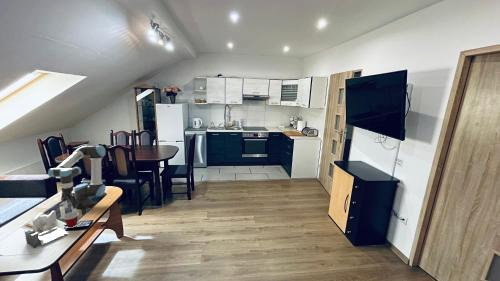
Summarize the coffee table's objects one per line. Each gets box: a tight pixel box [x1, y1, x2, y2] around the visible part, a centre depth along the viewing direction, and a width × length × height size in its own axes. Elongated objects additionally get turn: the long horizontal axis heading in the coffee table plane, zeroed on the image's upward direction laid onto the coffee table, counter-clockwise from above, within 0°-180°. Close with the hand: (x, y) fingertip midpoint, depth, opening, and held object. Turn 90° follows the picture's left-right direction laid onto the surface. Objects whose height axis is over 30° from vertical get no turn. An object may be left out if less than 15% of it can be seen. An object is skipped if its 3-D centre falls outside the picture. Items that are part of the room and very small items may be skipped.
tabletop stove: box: [24, 226, 70, 249], centre depth 169 cm, size 22×17×12 cm
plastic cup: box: [62, 211, 80, 228], centre depth 184 cm, size 11×11×12 cm
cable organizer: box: [31, 210, 57, 232], centre depth 184 cm, size 15×11×12 cm
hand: (70, 209), depth 182 cm, fingers open, 13 cm apart
